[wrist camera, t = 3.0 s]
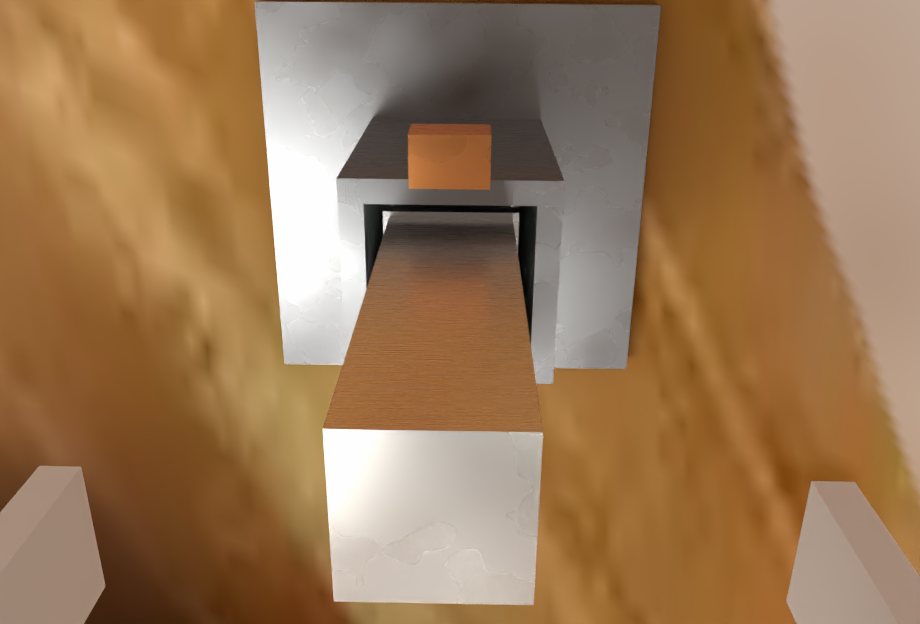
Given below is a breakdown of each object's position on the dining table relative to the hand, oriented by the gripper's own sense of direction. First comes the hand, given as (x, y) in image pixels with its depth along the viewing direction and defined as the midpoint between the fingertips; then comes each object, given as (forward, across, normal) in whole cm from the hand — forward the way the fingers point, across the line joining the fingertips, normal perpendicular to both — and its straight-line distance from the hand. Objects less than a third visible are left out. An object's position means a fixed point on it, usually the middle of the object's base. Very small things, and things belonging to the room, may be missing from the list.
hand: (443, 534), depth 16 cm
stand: (+24, 0, 0) cm, 24 cm away
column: (+23, 0, 0) cm, 23 cm away
